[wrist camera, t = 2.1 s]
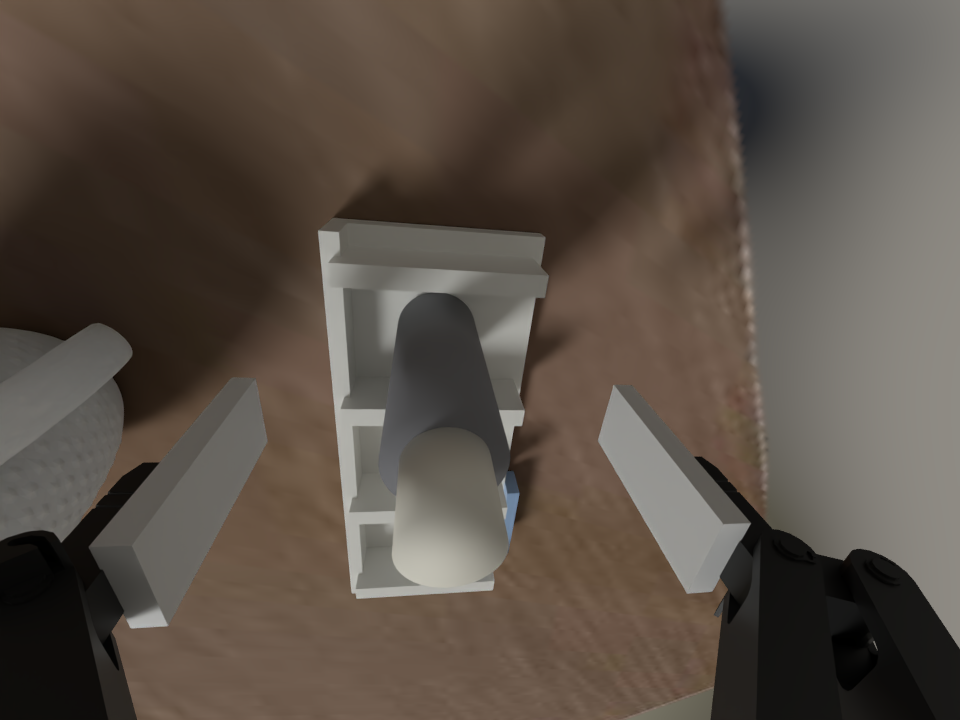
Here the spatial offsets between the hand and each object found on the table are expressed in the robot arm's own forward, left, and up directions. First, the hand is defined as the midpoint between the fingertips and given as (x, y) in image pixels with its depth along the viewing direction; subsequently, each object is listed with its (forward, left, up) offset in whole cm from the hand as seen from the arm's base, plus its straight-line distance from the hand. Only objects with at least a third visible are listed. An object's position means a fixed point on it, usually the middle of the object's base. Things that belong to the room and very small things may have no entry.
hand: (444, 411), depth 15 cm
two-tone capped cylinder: (0, 0, -7) cm, 7 cm away
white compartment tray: (+7, 0, -8) cm, 10 cm away
